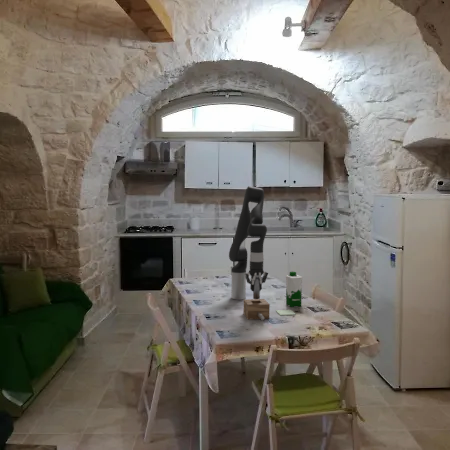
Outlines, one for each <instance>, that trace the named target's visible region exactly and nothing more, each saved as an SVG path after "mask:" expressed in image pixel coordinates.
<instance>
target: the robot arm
mask: <svg viewBox="0 0 450 450" xmlns="http://www.w3.org/2000/svg"><path fill="white" fill-rule="evenodd" d="M245 189H246V190H245V192H244V197H243V202H242V206H241V211H240V213H239V219H238V222H237V226H236V230H235V234H234V237H233V241H232V242H231V246H230V249H229V252H228V258H229V260H230V261H231V262H233V263H236V262H237V263H236V264H235V265H233V266H232V267H231V292H230V293H231V297H230V298H231V299H232V300H246V299H247V298H246V297H247V296H246V293H247V292H246V291H247V288H246V286H247V285H246V284H249V285H250V287H249V288H250V290H251V292H253V291H254V285H253V284H254V281H255V276H256V275H259V276H260V277H259V281H260V292H261V291H262V288H263V284H264V283H266V281H267V278H268V275H269V272H267V271H264V260H265V259H264V243H265V239H266V235H267V233H268V228H267V226H266V225H265V224H263V223H264V217H263V211H264V210H263V208H264V201H265V190H264V189H263V188H261V187H255V186H247V187H246V188H245ZM250 203H254V204H256V205H255V206H254V207H253V208H252V209H251V211H250V207H249V205H250ZM248 237H250V238H259V239H257V240H254V241H251V242H250V251H249V252H250V253H249V271H248V272H247V267H248V251H247V248H246V247H244V246H242V244H243V242H244V241H245V240H246V239H247V238H248Z"/></svg>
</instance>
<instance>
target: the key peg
mask: <svg viewBox="0 0 450 450" xmlns="http://www.w3.org/2000/svg"><path fill="white" fill-rule="evenodd" d="M259 277H260V276H259V275H256V276H255V281H254V284H253V285H254V291H252V296H253V299H261V295H260V294H261V291H260V281H259Z"/></svg>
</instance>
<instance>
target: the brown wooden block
mask: <svg viewBox="0 0 450 450" xmlns="http://www.w3.org/2000/svg"><path fill="white" fill-rule="evenodd" d="M242 313H243V315H244V316H245V318H246V319H247V320H261V321H264V320H265V319H266V320H269V319H270V303H269V302H268V301H267V300H266V299H265V298H260V299H250V298H249V299H243V312H242Z"/></svg>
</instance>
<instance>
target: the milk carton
mask: <svg viewBox="0 0 450 450" xmlns="http://www.w3.org/2000/svg"><path fill="white" fill-rule="evenodd" d="M285 278H286V287H285V288H286V289H285V291H286V293H285V295H286V296H285V301H286V302H285V305H287V306H288V305H289V307H290V308H295V307H294V306H298V307H302V293H303V292H302V291H303V290H302V288H303V285H302V283H303V278H304V277H303V276H301V275H299V274H297V272H296V271H290V272H289V274H287V275H286V276H285Z"/></svg>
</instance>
